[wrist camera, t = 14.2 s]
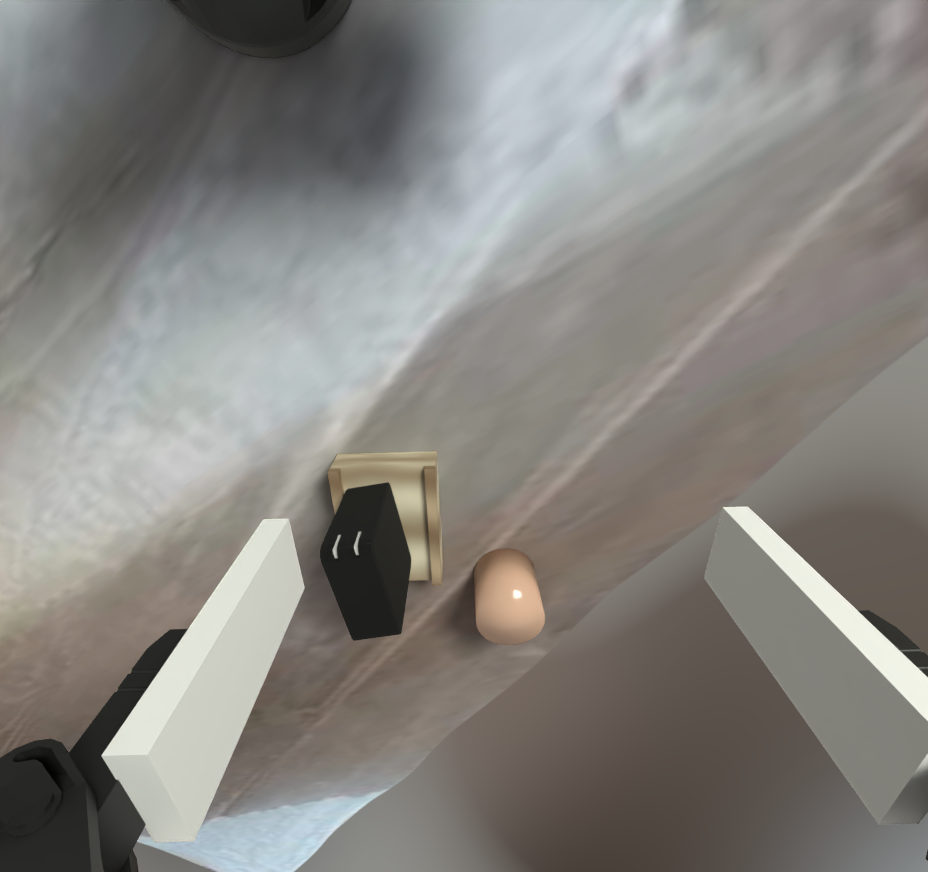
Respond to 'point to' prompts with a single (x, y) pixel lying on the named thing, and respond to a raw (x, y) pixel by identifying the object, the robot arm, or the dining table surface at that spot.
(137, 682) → the robot arm
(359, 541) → the electronic device
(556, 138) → the dining table surface
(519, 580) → the peach rounded cylinder
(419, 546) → the stand
